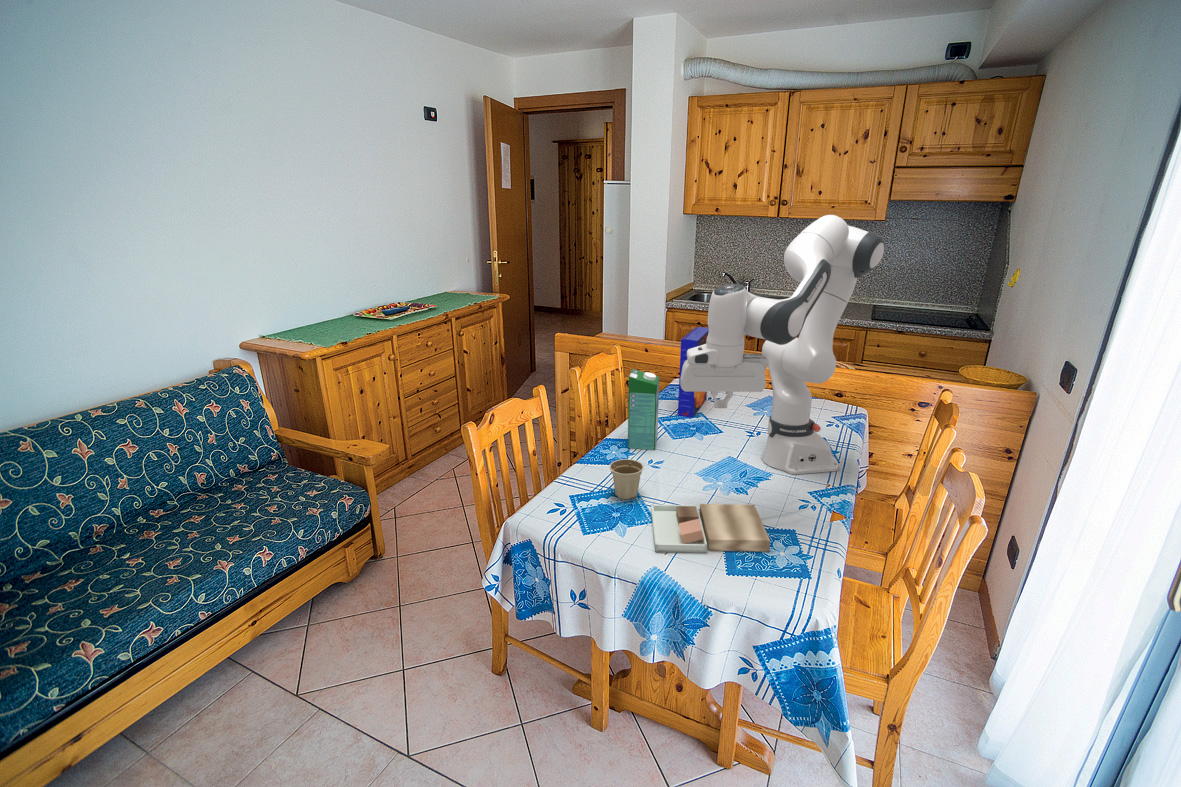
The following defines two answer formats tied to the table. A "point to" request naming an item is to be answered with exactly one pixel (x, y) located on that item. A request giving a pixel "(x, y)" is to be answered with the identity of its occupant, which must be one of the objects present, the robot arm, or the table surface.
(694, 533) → the terracotta tile
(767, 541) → the board
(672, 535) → the tray
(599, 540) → the table surface
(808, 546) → the table surface
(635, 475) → the flower pot
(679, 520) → the walnut tile
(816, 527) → the table surface
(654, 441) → the milk carton
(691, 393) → the cereal box
